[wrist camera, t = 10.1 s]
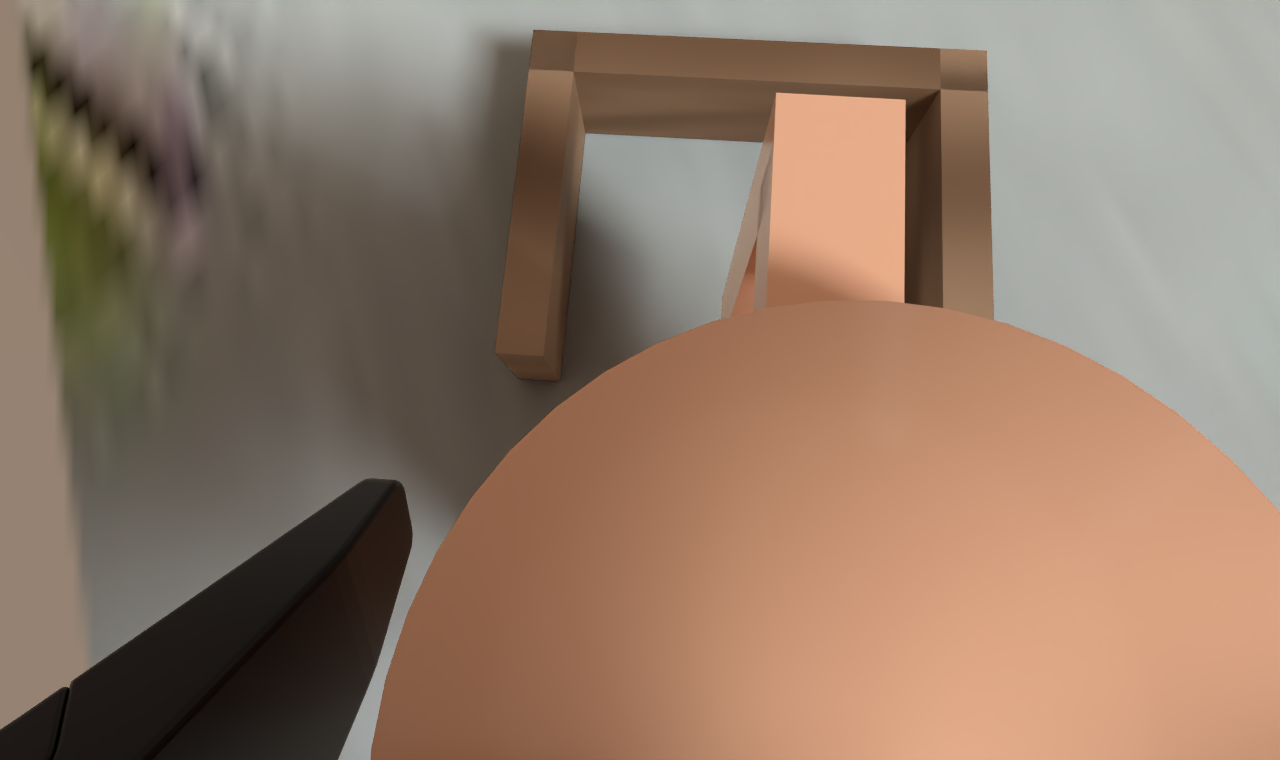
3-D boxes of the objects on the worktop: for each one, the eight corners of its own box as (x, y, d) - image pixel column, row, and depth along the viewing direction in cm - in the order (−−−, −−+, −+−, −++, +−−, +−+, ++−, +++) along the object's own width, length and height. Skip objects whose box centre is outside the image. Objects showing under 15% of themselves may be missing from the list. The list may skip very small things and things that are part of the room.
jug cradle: (946, 407, 17) (995, 386, 14) (518, 378, 17) (494, 352, 15) (942, 115, 18) (986, 50, 16) (550, 95, 19) (533, 29, 16)
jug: (852, 759, 15) (1514, 1554, 3) (570, 733, 15) (280, 1379, 4) (859, 367, 17) (1315, -5, 5) (605, 349, 17) (486, -45, 5)
